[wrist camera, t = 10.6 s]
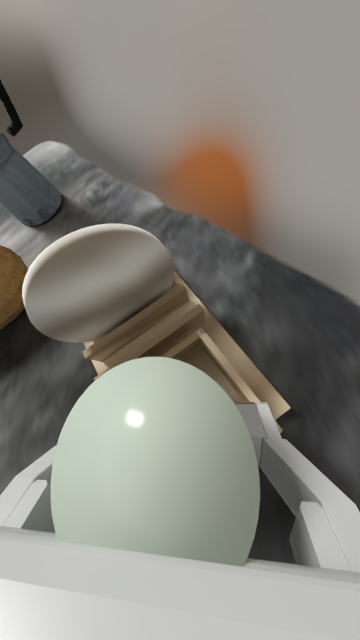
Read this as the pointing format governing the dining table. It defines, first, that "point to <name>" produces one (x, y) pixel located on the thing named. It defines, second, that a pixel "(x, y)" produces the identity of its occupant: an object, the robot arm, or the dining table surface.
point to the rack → (134, 309)
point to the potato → (10, 285)
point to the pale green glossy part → (157, 466)
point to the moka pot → (23, 179)
